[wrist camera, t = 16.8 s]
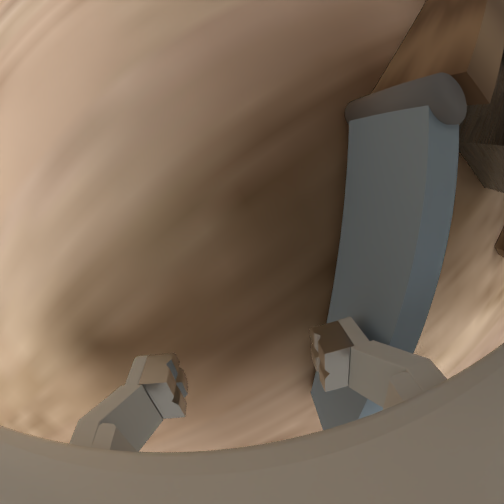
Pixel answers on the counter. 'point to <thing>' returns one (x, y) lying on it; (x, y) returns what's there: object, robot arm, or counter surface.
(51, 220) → the counter surface
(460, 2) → the wooden u-shaped block
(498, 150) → the dark gray rectangular block
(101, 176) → the counter surface
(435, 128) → the rounded end plank
